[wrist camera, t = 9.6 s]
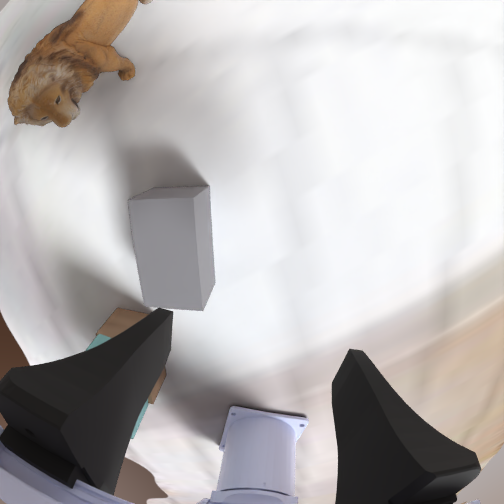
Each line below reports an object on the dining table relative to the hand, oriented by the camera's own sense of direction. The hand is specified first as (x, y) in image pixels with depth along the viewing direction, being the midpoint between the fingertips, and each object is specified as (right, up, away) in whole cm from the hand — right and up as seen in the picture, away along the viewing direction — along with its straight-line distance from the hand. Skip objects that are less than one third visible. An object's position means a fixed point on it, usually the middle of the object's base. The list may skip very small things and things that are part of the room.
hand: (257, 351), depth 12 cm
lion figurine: (-8, +19, +4) cm, 21 cm away
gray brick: (-5, +5, +9) cm, 12 cm away
